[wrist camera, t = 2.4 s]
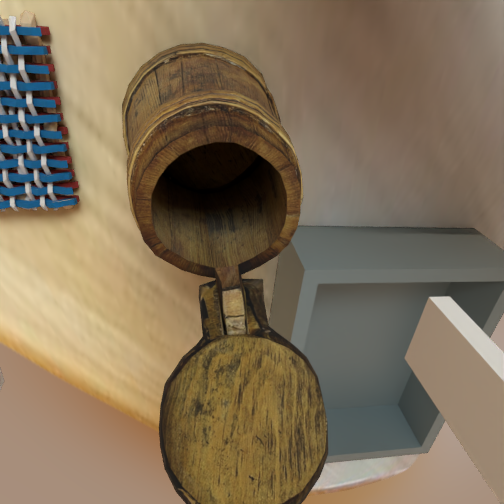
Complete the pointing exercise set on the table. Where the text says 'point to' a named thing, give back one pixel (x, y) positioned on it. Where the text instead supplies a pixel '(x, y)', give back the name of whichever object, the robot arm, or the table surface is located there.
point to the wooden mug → (224, 275)
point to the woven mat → (31, 124)
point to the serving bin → (378, 323)
